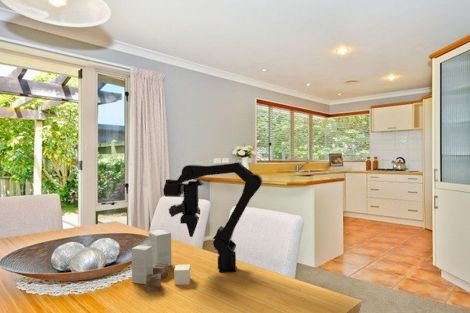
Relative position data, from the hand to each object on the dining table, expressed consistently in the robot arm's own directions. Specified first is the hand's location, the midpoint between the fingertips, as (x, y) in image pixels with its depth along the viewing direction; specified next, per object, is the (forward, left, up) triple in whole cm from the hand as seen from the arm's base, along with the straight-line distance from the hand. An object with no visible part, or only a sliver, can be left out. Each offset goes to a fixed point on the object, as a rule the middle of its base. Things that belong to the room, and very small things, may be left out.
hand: (191, 236), depth 118 cm
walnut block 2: (+11, +18, -12) cm, 24 cm away
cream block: (+2, +13, -12) cm, 18 cm away
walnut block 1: (+11, +8, -12) cm, 18 cm away
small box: (+13, -4, -12) cm, 18 cm away
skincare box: (+16, +12, -12) cm, 23 cm away
